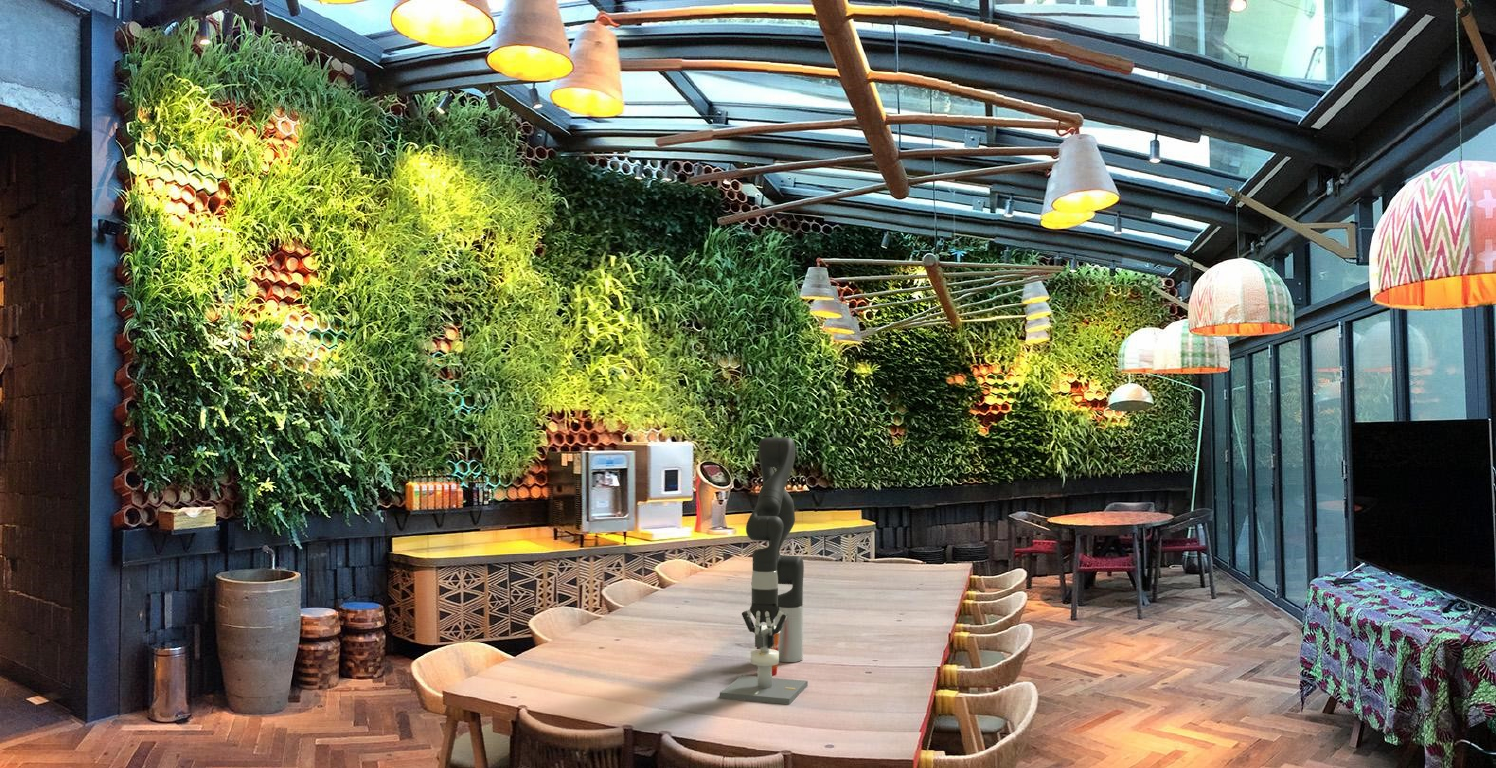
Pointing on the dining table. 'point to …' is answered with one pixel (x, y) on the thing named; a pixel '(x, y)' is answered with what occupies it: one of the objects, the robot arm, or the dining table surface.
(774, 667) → the paper cup
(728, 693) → the post board
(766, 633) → the coupling
